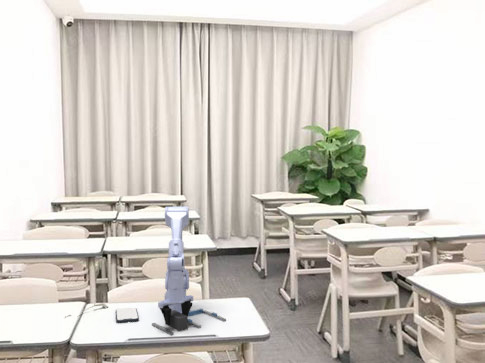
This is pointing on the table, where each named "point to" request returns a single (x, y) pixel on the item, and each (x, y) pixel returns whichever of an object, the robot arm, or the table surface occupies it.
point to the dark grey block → (178, 321)
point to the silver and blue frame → (190, 320)
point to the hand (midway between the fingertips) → (176, 322)
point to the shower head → (98, 305)
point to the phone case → (127, 315)
